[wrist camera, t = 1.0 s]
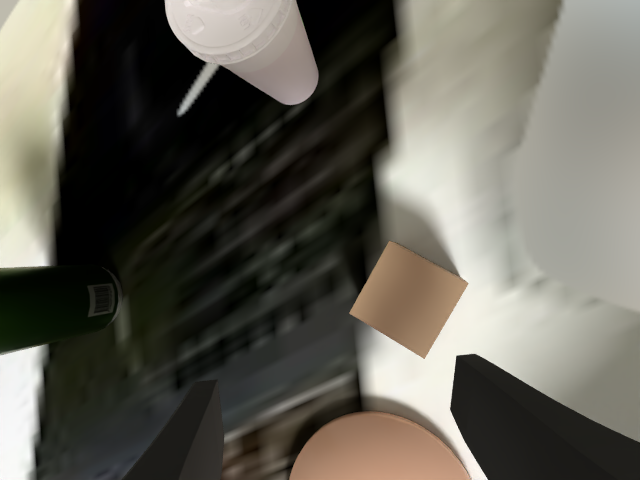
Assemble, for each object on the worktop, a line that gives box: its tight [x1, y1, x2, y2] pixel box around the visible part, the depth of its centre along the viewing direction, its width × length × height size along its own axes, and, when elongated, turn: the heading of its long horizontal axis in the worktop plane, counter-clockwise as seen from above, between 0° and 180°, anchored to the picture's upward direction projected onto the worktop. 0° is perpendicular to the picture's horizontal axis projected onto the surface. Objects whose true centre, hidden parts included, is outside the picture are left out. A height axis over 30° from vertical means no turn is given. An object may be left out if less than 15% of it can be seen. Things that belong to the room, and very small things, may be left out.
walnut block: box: [350, 241, 468, 359], centre depth 22 cm, size 4×4×4 cm
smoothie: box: [165, 0, 318, 105], centre depth 20 cm, size 6×6×14 cm
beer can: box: [0, 264, 123, 355], centre depth 25 cm, size 5×5×12 cm
